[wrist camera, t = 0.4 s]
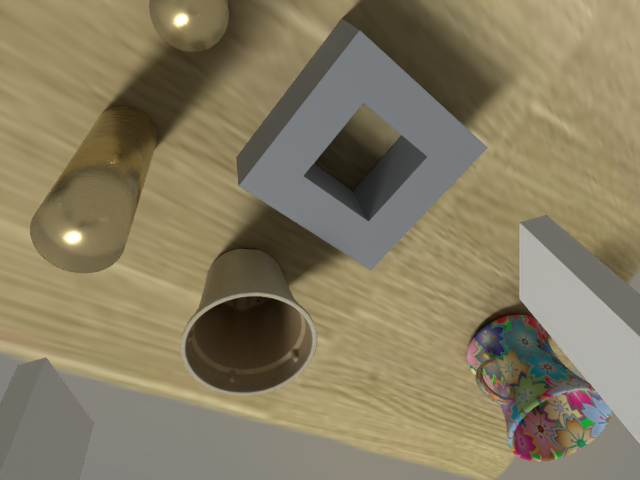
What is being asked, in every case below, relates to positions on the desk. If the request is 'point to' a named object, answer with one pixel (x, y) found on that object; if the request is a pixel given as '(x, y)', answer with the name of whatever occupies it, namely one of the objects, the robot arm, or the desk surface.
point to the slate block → (323, 126)
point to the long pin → (97, 194)
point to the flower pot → (247, 328)
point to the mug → (535, 390)
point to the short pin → (190, 22)
